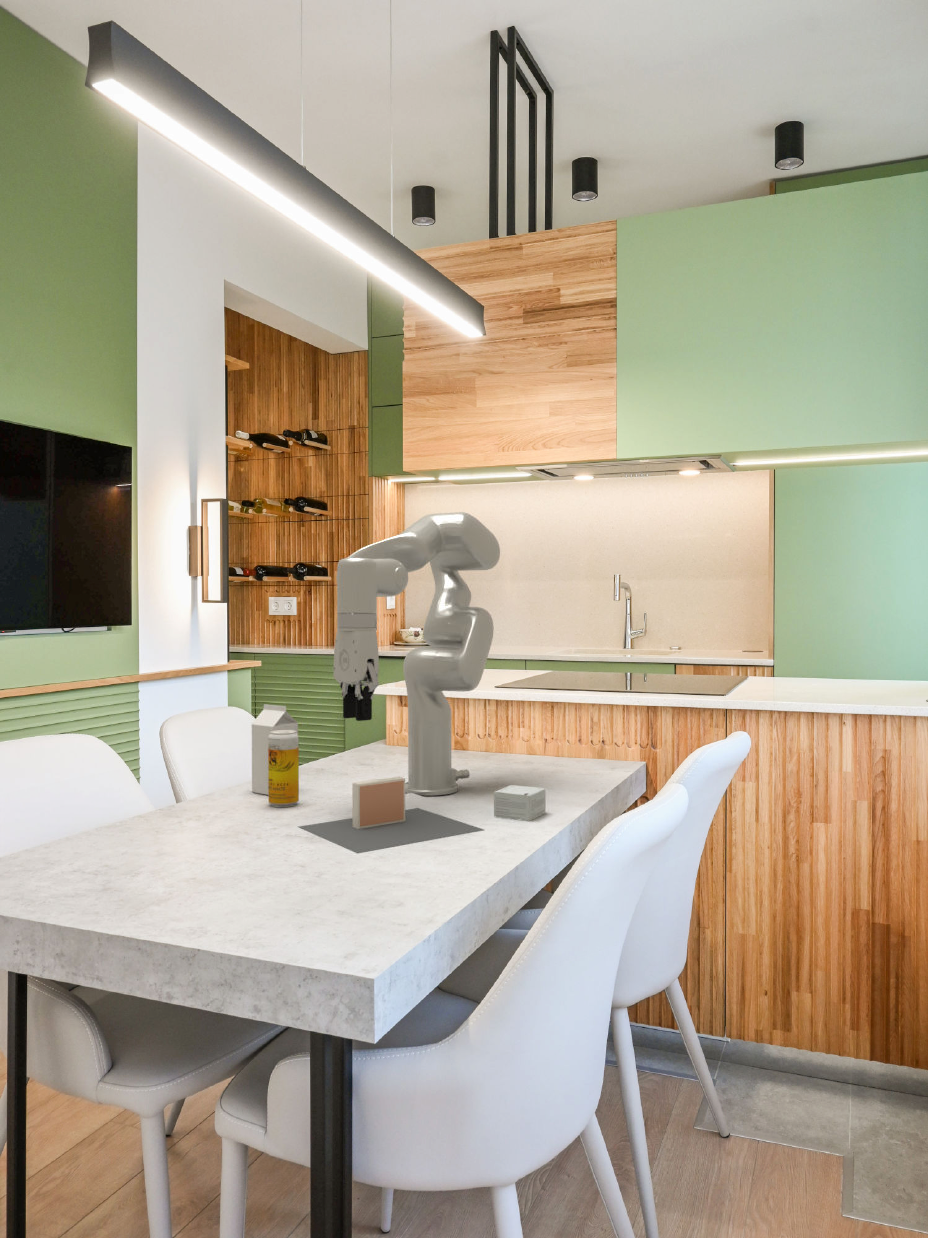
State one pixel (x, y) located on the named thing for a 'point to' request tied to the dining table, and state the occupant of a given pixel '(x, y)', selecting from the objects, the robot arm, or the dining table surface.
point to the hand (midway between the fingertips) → (357, 718)
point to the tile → (378, 802)
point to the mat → (390, 831)
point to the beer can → (283, 768)
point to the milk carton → (266, 742)
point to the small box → (520, 802)
